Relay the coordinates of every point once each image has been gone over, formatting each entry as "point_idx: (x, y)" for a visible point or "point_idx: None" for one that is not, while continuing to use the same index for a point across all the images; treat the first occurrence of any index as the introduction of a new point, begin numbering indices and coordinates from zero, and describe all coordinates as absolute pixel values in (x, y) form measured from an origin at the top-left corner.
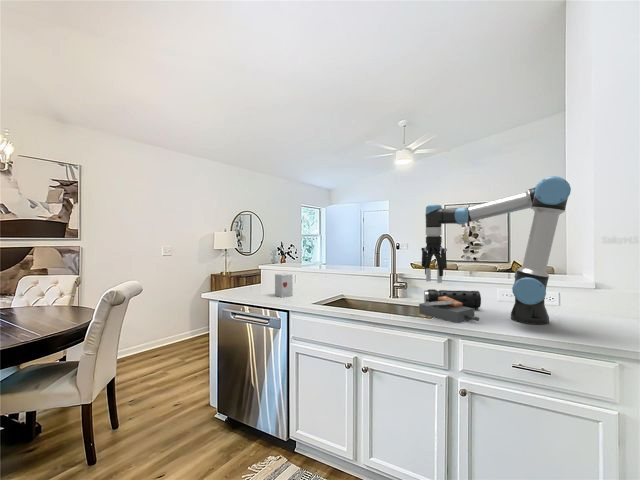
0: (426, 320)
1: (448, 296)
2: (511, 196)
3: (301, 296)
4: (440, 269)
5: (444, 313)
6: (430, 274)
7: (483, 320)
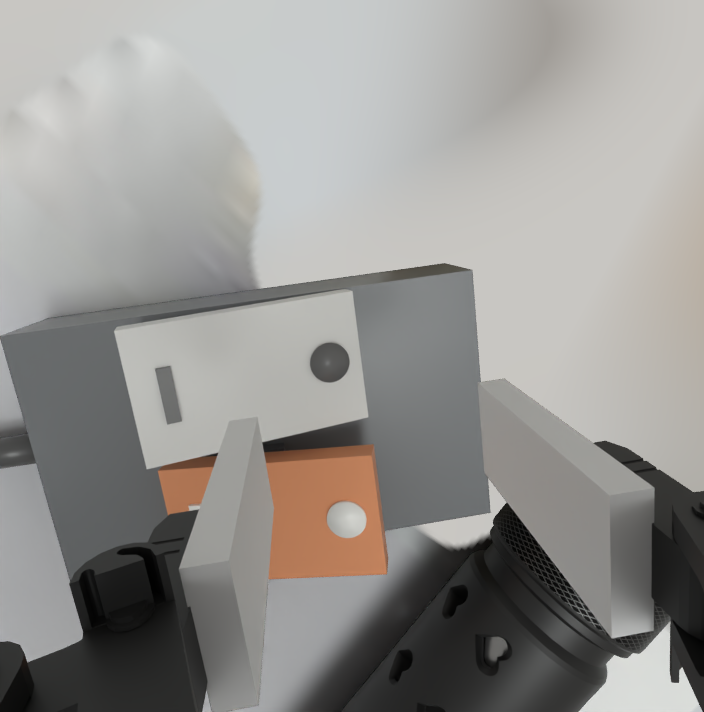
0: (227, 141)
1: (448, 650)
2: None
3: None
4: (111, 608)
5: (163, 308)
6: (535, 531)
7: (39, 557)
